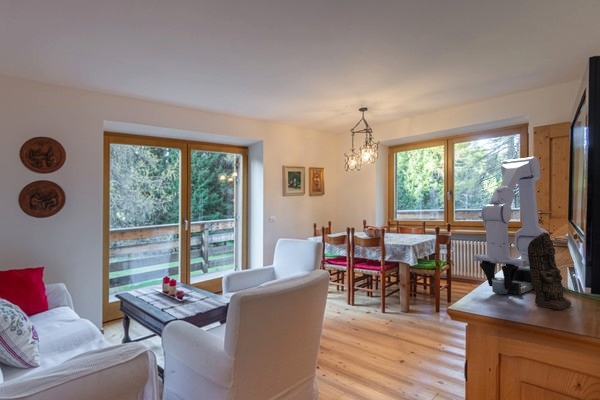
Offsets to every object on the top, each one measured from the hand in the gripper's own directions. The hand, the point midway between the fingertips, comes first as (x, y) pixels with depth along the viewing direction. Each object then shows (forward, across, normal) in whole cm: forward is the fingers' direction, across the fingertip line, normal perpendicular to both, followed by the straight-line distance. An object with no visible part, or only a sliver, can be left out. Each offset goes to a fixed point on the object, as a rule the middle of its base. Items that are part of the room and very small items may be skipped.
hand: (499, 287), depth 97 cm
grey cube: (+2, 0, 0) cm, 2 cm away
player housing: (+2, 0, +17) cm, 18 cm away
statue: (+3, +13, +1) cm, 13 cm away
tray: (+2, 0, +9) cm, 9 cm away
